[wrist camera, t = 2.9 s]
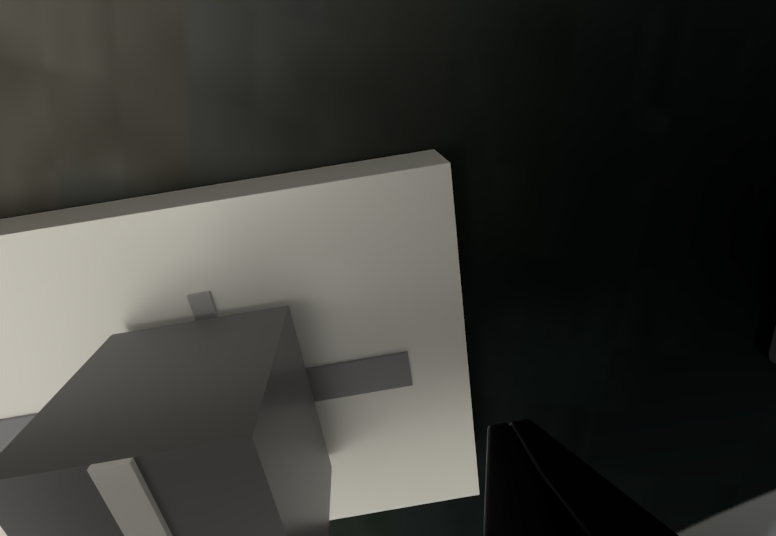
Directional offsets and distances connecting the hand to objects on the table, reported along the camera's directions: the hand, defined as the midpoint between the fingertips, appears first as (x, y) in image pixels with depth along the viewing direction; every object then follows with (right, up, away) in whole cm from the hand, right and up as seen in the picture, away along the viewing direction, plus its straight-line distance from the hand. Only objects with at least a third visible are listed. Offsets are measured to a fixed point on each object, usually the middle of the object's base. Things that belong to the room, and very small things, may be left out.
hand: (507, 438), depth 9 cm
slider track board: (-10, 0, +4) cm, 11 cm away
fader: (-6, 0, +2) cm, 7 cm away
